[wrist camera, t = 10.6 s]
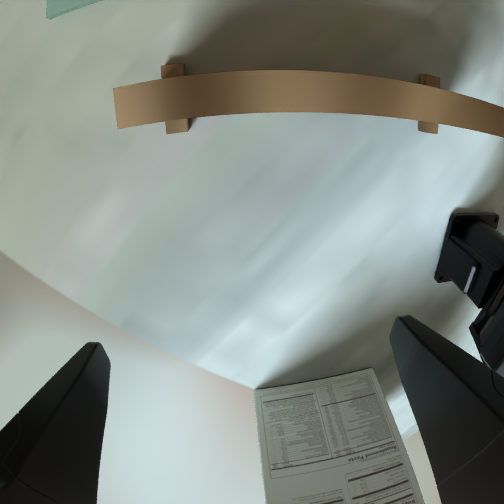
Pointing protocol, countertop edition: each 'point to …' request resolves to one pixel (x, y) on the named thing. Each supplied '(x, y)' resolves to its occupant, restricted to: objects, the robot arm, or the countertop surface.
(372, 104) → the screen
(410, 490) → the supplement box
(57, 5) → the mat
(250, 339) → the countertop surface
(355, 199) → the countertop surface
